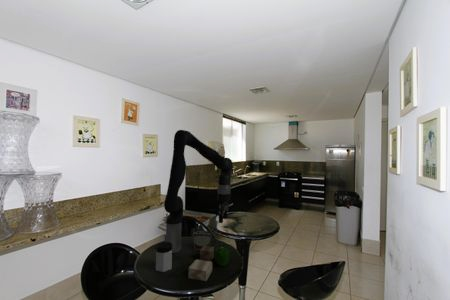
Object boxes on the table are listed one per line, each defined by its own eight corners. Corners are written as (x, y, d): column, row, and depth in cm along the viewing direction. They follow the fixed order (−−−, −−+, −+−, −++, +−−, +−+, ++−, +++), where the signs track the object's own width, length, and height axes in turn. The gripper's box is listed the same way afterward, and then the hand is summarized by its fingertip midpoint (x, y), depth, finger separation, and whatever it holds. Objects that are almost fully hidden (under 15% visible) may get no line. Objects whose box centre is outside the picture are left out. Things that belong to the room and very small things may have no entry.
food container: (212, 246, 140) (213, 230, 141) (211, 250, 134) (211, 234, 134) (194, 245, 142) (194, 229, 142) (192, 249, 135) (192, 233, 136)
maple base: (188, 278, 104) (188, 268, 104) (195, 269, 112) (196, 259, 113) (206, 281, 101) (206, 270, 102) (212, 271, 110) (212, 261, 110)
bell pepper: (218, 259, 123) (218, 241, 123) (231, 262, 120) (231, 244, 120) (211, 266, 115) (211, 247, 115) (225, 269, 112) (226, 250, 112)
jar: (151, 270, 110) (152, 246, 111) (161, 262, 118) (161, 240, 118) (166, 273, 108) (167, 249, 108) (175, 265, 116) (175, 242, 116)
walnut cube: (200, 260, 121) (200, 249, 121) (204, 255, 127) (204, 245, 127) (209, 262, 119) (210, 251, 120) (213, 257, 125) (213, 247, 125)
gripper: (221, 189, 131) (220, 216, 131) (213, 193, 117) (212, 223, 117) (233, 190, 129) (232, 217, 129) (226, 195, 115) (225, 225, 115)
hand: (223, 220), depth 123 cm, fingers open, 8 cm apart
